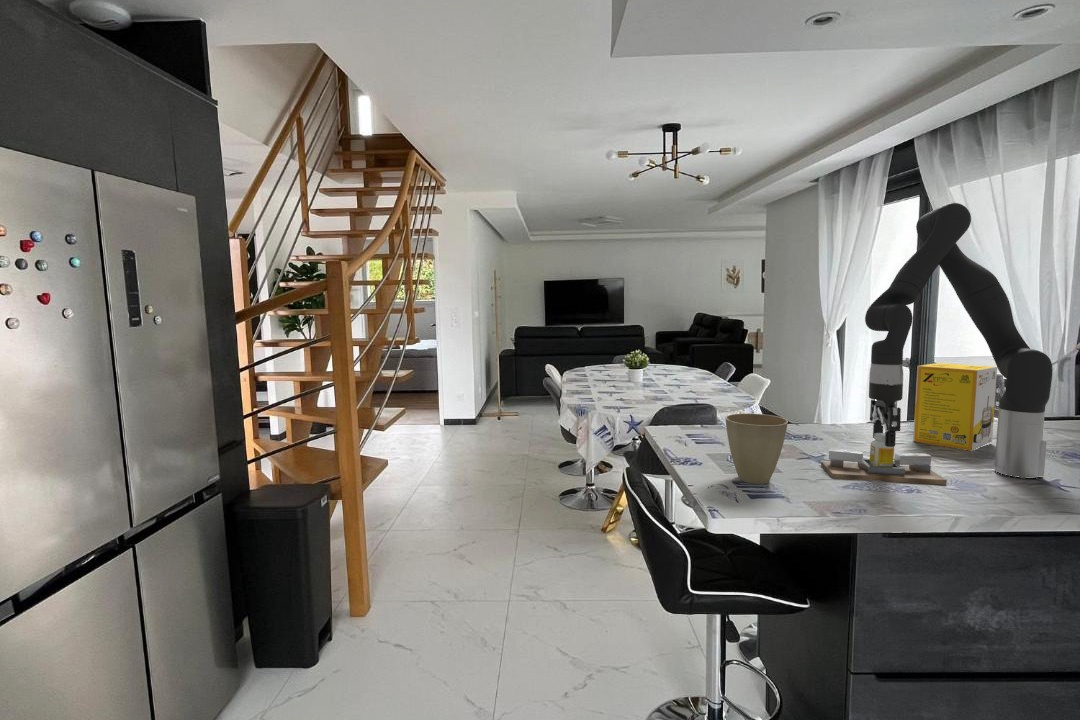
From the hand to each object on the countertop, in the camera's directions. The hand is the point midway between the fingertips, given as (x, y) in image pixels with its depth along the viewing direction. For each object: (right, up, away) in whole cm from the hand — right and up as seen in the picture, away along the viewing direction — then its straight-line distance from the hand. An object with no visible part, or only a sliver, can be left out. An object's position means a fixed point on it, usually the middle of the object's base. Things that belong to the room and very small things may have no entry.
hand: (883, 442), depth 149 cm
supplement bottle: (0, -8, +1) cm, 8 cm away
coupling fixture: (0, -7, +1) cm, 8 cm away
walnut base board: (0, -9, +1) cm, 9 cm away
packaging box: (+44, -6, +36) cm, 57 cm away
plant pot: (-35, -9, -3) cm, 36 cm away
